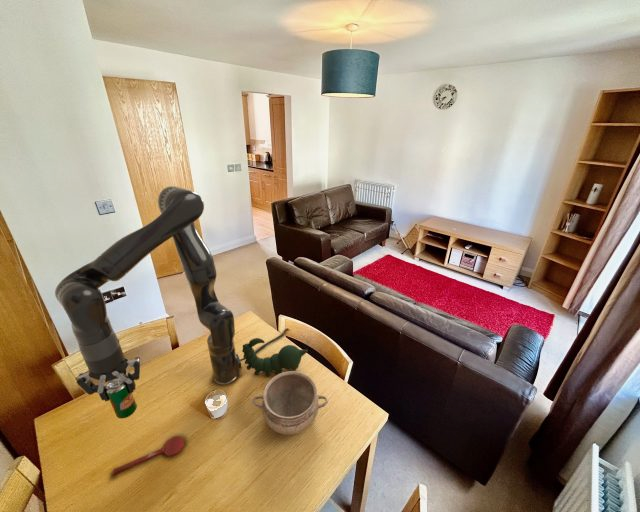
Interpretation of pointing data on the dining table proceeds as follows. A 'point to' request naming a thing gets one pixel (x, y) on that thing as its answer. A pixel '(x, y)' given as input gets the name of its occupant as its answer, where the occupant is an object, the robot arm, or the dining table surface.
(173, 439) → the spoon
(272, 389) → the cooking pot
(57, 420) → the dining table surface
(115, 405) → the soda can
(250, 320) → the dining table surface
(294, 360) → the toy figurine
